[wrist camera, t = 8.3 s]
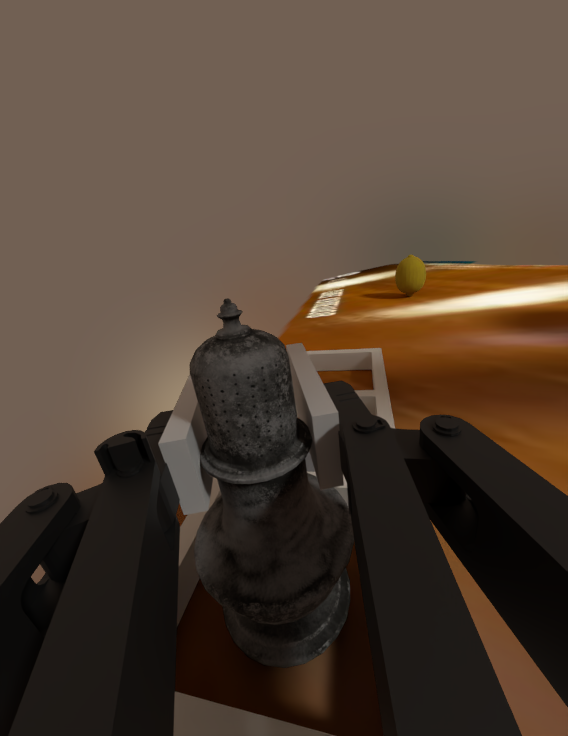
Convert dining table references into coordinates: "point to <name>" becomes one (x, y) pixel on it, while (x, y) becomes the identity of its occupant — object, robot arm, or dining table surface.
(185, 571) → the pocket rack
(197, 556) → the dark chess piece
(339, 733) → the dining table surface
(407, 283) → the lemon
